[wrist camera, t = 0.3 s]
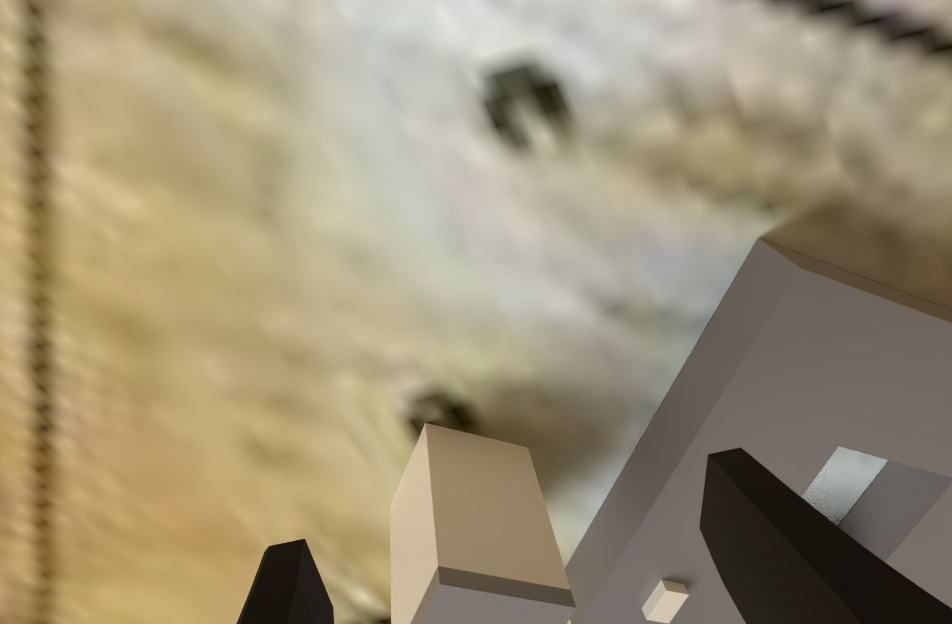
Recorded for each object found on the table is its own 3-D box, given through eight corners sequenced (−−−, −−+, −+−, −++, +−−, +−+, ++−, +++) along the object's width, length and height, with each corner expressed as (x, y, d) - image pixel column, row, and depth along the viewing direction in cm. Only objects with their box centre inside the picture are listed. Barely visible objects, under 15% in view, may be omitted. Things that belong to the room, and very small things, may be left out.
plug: (488, 526, 26) (520, 698, 20) (390, 506, 25) (391, 682, 19) (527, 447, 24) (576, 607, 18) (425, 422, 23) (439, 584, 17)
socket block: (854, 634, 32) (896, 693, 29) (558, 579, 28) (577, 643, 25) (1091, 361, 26) (1172, 405, 23) (758, 238, 22) (810, 275, 19)
